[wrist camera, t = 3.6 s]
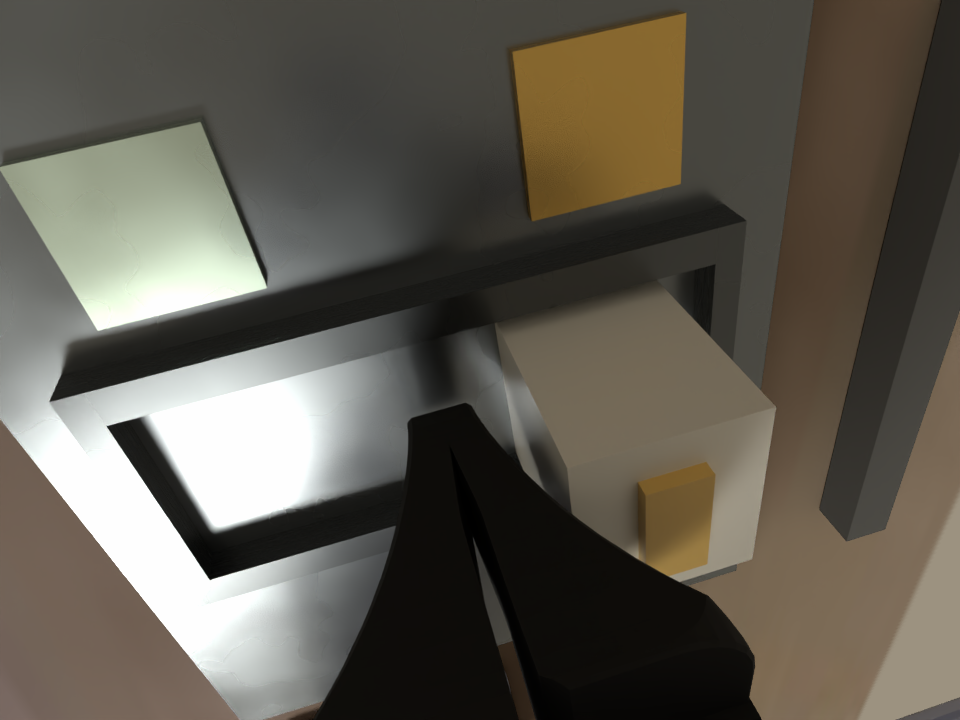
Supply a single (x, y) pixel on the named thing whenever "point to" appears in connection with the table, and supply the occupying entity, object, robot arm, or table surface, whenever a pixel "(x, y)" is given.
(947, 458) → the table surface
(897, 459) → the dark gray bar
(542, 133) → the panel
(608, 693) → the robot arm
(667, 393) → the toggle
